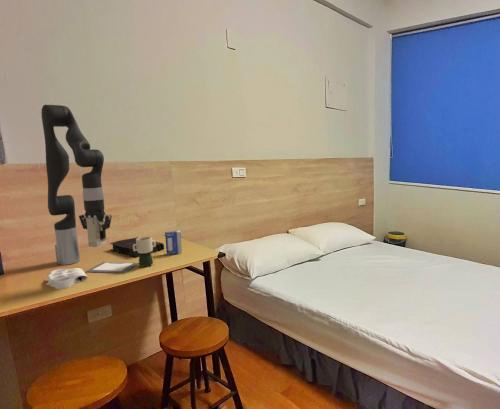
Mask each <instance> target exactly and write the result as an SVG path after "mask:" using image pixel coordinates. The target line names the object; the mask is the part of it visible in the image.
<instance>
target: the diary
mask: <svg viewBox="0 0 500 409" xmlns="http://www.w3.org/2000/svg"><path fill="white" fill-rule="evenodd" d="M137 238H140V237H139V236H137V237H132V238H127V239H125V238H124V239H121V240H117V241H113V242H110V243H109V245H112V248H110V251H112V252H114V253H117V254H121V255H123V256H128V257H130V258H134V259H137V258H139V255H140V253H138V252H137V251H133V244H136V239H137ZM152 245H154V242H152ZM135 249H137V247H136V246H135ZM161 250H162V251H164V250H165V244H164V243H163V242H158V241H156V246H155V247H153V250H152V251H151V252H150V253H151V254H153V253H156V252H158V251H159V252H160V251H161Z"/></svg>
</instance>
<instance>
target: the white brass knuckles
mask: <svg viewBox="0 0 500 409" xmlns="http://www.w3.org/2000/svg"><path fill="white" fill-rule="evenodd" d="M79 277H80V278H81V280H80V279H79ZM87 280H88V275H86V271H84V270H83V269H82V268H79V267H77V268H68V269H67V268H59V269H54V270H51V271H50V274H49V275H48V276H47V278H45V279H44V281H45V282H47V283H45V285H46V286H50V287H52V288H54V289H56V290H63V289H66V288H69V287H72V286H73V285H75V284H76V283H81V282H85V281H87Z"/></svg>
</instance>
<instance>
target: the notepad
mask: <svg viewBox="0 0 500 409" xmlns="http://www.w3.org/2000/svg"><path fill="white" fill-rule="evenodd" d="M138 265H139V262H121V261H120V262H116V261H113V262H111V261H108V262H107V261H103V262H101V263H98V264H97V265H95V266H94V267H92V268H90V269H88V270H85V273H98V274H99V273H100V274H101V273H103V274H126V273H128V272H129V271H131V270H132V269H134V268H135V267H137V266H138Z"/></svg>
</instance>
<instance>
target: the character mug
mask: <svg viewBox="0 0 500 409" xmlns="http://www.w3.org/2000/svg"><path fill="white" fill-rule="evenodd" d="M152 242H154V245H152ZM156 242H157V241H156V240H155V239H153V237H152V236H141V237H139V238H137V239H136V244H133V251H137V252H138V253H140V255H139V257H138V263H139V264H138V265H139V266H141V267H148V266H151V265H153V264H154V260H153V256H152V253H150V252H151V251H152V250H153V247H155V246H156ZM135 246H136V247H137V249H135Z"/></svg>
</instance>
